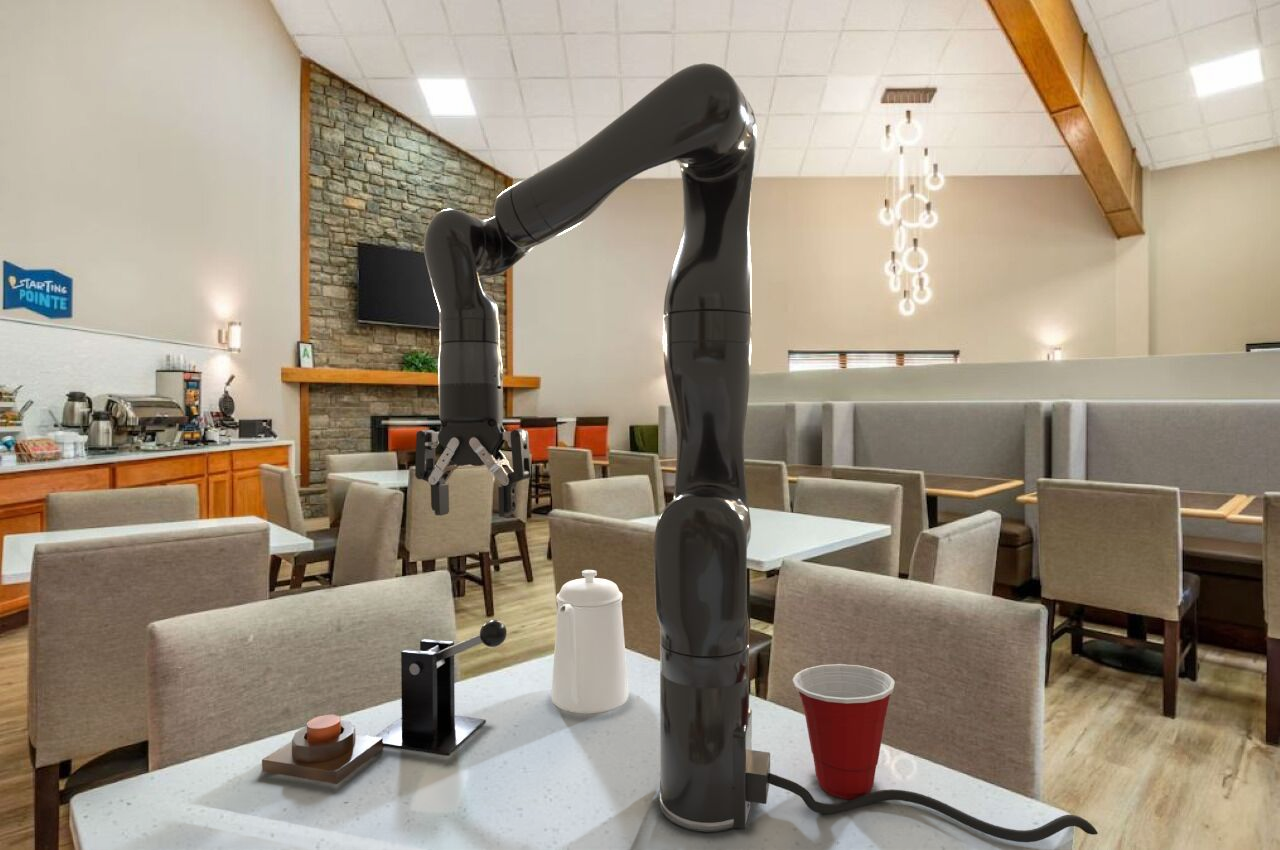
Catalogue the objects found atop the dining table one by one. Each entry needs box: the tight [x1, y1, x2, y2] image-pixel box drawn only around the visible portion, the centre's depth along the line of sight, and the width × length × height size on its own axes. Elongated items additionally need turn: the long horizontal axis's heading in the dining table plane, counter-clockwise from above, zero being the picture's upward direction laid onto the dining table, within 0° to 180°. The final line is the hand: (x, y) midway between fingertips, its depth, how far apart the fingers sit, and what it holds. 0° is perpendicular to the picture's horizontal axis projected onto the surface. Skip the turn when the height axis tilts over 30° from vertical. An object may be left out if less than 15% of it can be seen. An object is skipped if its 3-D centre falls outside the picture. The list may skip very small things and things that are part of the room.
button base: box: [261, 720, 384, 785], centre depth 78 cm, size 10×8×4 cm
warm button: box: [306, 714, 342, 742], centre depth 78 cm, size 4×4×2 cm
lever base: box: [374, 638, 487, 757], centre depth 85 cm, size 11×9×12 cm
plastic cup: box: [792, 663, 896, 800], centre depth 74 cm, size 11×11×12 cm
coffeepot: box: [551, 569, 629, 714], centre depth 95 cm, size 11×25×19 cm, turn 168°
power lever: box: [426, 619, 508, 668], centre depth 83 cm, size 13×3×3 cm, turn 74°
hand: (473, 515), depth 82 cm, fingers open, 8 cm apart
